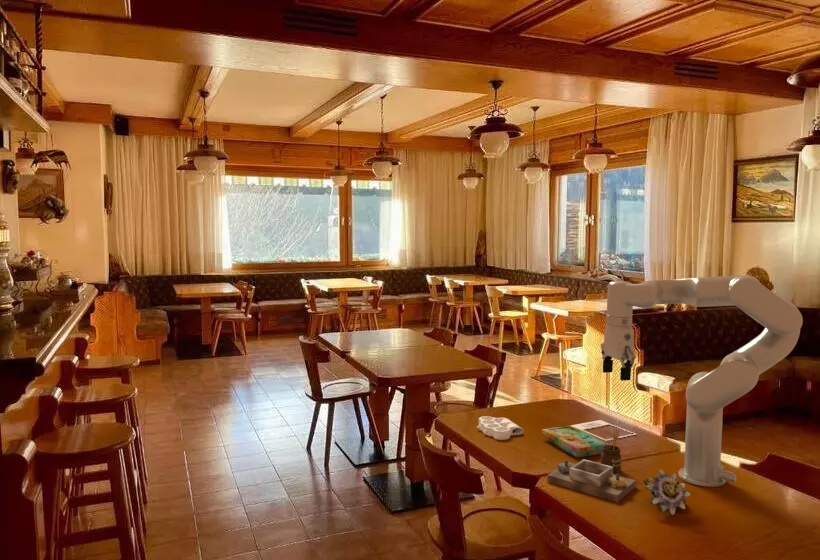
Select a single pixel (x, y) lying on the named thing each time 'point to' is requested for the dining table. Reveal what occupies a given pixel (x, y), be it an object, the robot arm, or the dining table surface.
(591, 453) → the puzzle game
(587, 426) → the photo frame
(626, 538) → the dining table surface
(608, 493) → the gear board
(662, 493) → the passion flower
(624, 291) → the robot arm
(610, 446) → the utensil holder
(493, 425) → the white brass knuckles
